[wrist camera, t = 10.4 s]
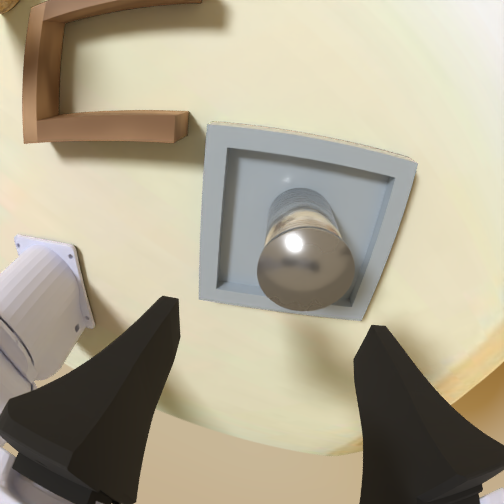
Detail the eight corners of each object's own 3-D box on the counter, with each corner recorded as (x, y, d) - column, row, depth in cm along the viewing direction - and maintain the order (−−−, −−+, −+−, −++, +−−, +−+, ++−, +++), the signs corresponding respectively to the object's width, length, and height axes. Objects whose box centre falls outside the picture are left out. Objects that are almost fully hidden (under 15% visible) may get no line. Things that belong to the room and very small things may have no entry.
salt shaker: (327, 253, 19) (340, 315, 14) (260, 244, 20) (252, 305, 14) (341, 190, 17) (366, 237, 12) (268, 179, 17) (262, 222, 12)
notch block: (187, 135, 17) (173, 143, 15) (45, 135, 17) (23, 143, 15) (204, -18, 12) (193, -32, 9) (53, 10, 12) (31, 7, 10)
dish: (357, 307, 22) (361, 320, 21) (203, 286, 22) (198, 299, 21) (408, 157, 16) (418, 163, 15) (213, 121, 16) (207, 124, 15)
